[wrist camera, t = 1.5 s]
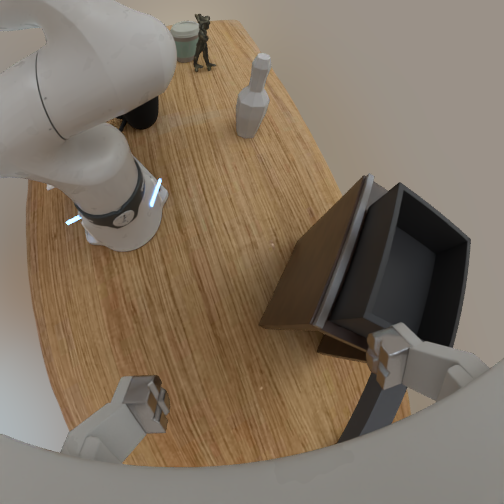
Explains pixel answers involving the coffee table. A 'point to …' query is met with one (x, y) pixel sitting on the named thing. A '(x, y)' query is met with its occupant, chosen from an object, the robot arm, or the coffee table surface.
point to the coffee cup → (185, 39)
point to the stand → (324, 274)
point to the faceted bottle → (253, 98)
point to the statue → (202, 42)
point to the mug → (142, 114)
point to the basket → (401, 288)
